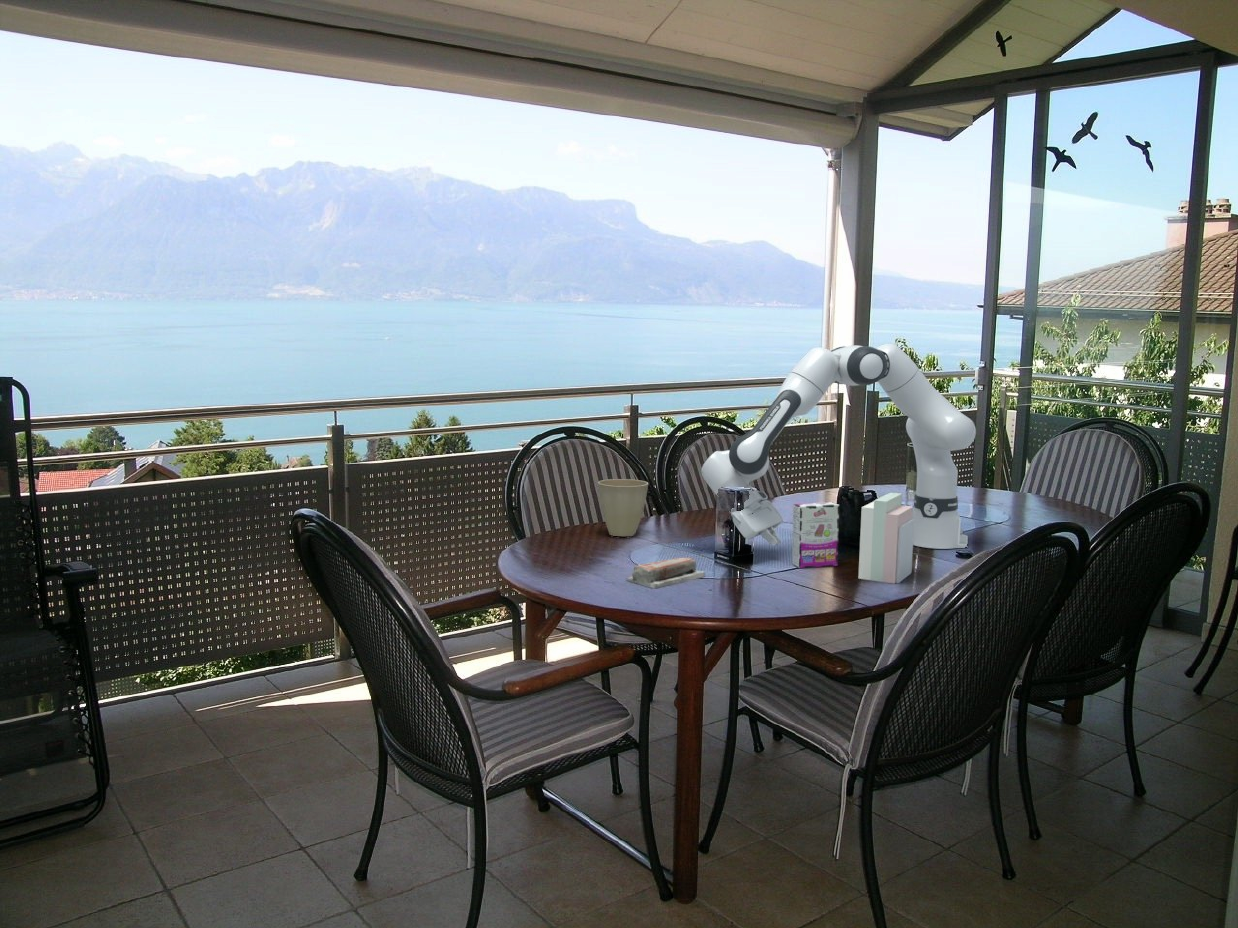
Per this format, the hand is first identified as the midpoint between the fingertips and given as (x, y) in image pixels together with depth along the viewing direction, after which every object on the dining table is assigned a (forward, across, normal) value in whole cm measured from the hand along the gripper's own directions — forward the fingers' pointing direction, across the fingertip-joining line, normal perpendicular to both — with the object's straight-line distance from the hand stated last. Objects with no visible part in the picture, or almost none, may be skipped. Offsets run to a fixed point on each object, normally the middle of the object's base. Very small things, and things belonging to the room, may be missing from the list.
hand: (777, 543), depth 258 cm
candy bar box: (+11, 0, -4) cm, 11 cm away
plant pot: (-32, +4, +39) cm, 51 cm away
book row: (+24, 0, -17) cm, 29 cm away
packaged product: (-7, -34, +14) cm, 37 cm away
